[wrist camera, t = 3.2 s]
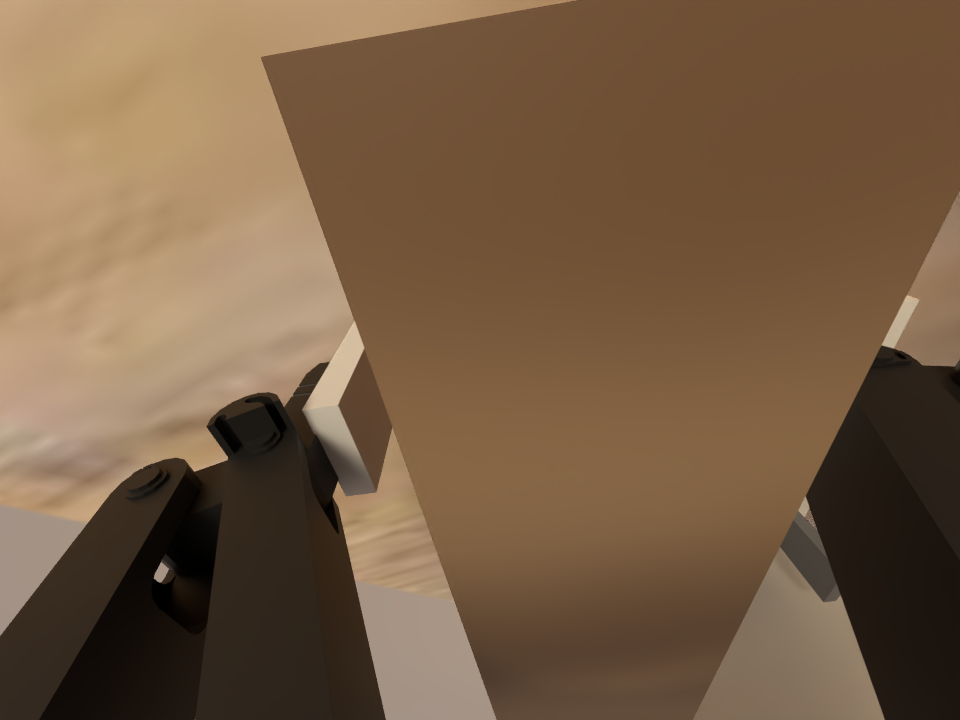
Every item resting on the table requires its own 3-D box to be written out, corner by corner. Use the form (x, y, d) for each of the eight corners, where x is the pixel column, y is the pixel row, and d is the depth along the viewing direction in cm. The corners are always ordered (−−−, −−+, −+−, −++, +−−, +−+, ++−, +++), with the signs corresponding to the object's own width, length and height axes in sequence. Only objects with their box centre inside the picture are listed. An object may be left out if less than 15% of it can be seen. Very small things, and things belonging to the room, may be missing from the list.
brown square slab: (431, 127, 12) (260, 56, 2) (551, 107, 12) (1103, -96, 2) (481, 407, 18) (506, 747, 8) (560, 396, 18) (688, 728, 8)
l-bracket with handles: (614, 329, 16) (1188, 1039, 3) (889, 289, 16) (2731, 929, 3) (601, 538, 25) (755, 974, 12) (782, 516, 24) (1146, 942, 11)
